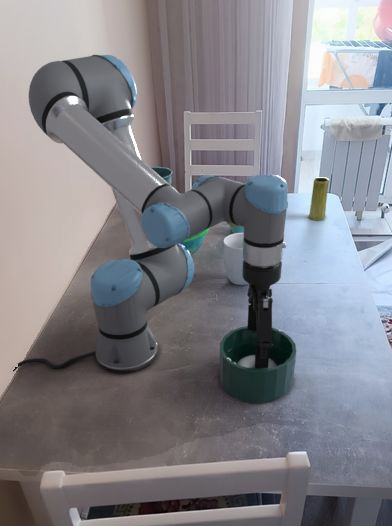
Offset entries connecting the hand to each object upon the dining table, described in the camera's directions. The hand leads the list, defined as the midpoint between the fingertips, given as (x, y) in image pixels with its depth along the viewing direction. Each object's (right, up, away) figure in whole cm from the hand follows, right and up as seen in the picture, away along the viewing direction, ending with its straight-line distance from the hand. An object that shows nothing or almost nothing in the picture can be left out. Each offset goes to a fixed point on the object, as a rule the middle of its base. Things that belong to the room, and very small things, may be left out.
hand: (257, 347), depth 106 cm
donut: (0, -7, +5) cm, 9 cm away
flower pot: (-30, +53, +86) cm, 106 cm away
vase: (+33, +50, +78) cm, 98 cm away
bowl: (-20, +31, +56) cm, 67 cm away
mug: (+1, +20, +41) cm, 46 cm away
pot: (0, -7, +5) cm, 9 cm away
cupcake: (+2, +43, +70) cm, 82 cm away
